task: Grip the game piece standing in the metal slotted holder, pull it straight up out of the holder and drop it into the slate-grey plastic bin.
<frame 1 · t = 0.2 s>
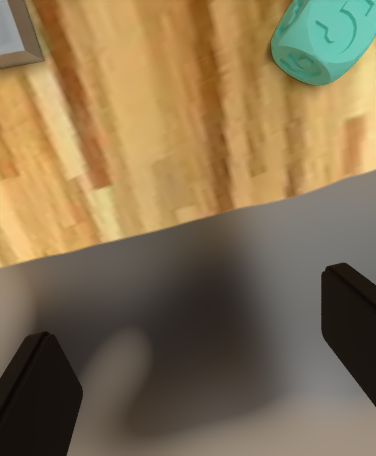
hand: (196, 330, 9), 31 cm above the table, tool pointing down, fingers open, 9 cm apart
decorative dice: (302, 42, 34), on the table
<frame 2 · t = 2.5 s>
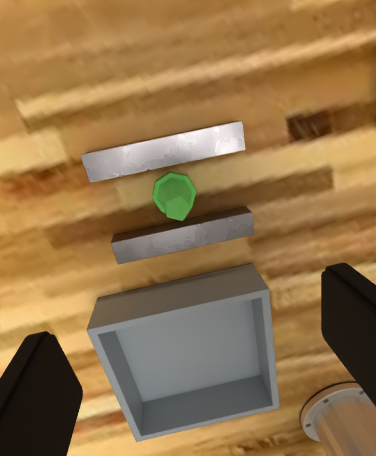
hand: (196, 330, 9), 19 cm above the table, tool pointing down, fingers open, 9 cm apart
slot holder: (174, 193, 26), on the table
bin: (190, 339, 33), on the table
game piece: (173, 192, 26), on the table
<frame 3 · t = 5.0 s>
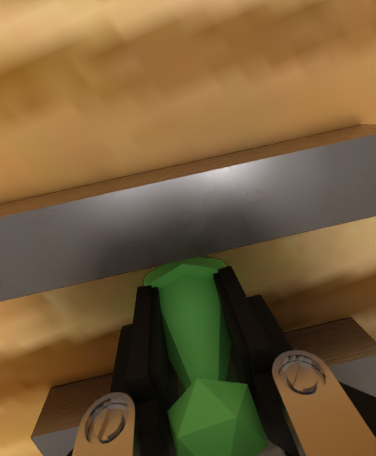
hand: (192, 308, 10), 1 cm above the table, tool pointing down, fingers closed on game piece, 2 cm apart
slot holder: (190, 299, 11), on the table
game piece: (189, 296, 11), on the table, touching gripper
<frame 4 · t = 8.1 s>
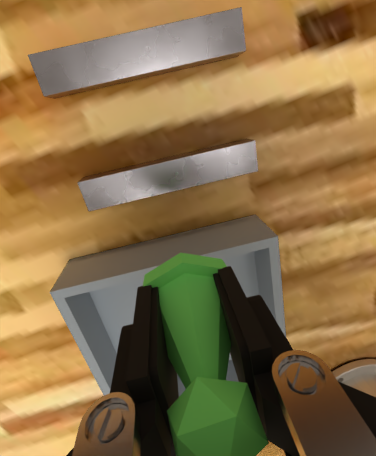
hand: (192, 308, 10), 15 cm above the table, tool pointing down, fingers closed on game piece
slot holder: (156, 119, 21), on the table
bin: (183, 310, 28), on the table
game piece: (189, 295, 11), point 14 cm above the table, touching gripper
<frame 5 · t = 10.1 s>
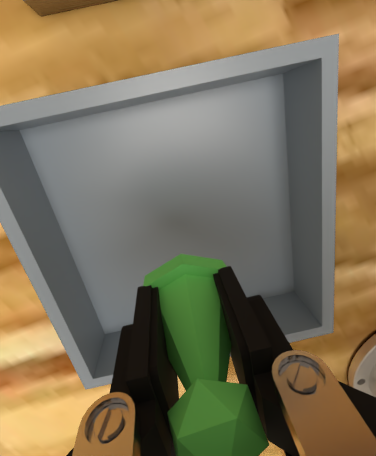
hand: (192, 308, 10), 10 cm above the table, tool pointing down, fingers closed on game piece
bin: (179, 220, 20), on the table
game piece: (189, 296, 11), point 10 cm above the table, touching gripper
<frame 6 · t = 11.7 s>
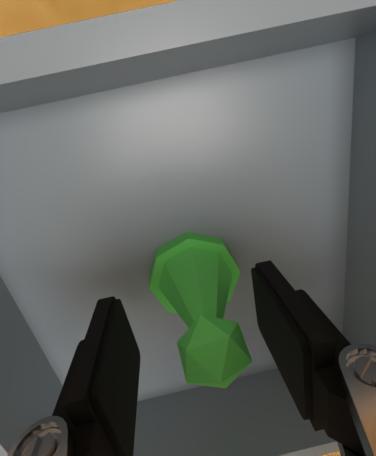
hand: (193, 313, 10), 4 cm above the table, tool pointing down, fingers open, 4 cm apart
bin: (183, 262, 14), on the table
game piece: (192, 269, 13), point 1 cm above the table, touching bin
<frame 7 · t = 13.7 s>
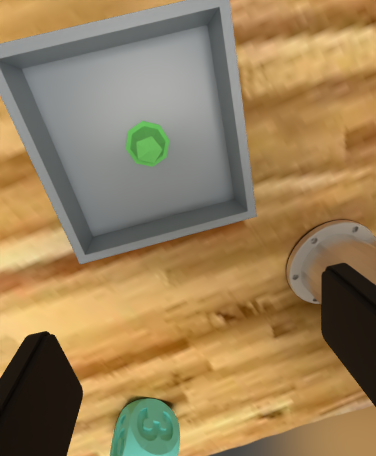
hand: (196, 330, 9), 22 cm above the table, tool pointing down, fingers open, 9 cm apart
bin: (143, 142, 27), on the table
decorative dice: (145, 412, 44), on the table
game piece: (147, 143, 26), point 1 cm above the table, touching bin
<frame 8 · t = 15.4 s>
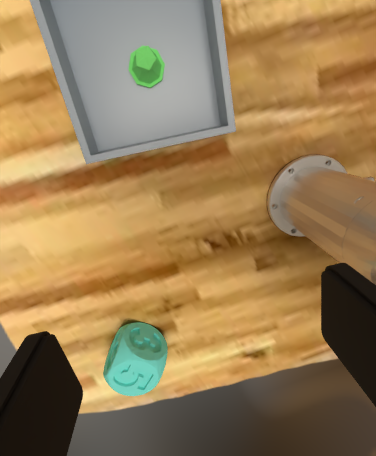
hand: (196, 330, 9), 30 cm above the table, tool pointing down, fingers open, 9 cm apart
bin: (143, 68, 32), on the table
decorative dice: (137, 338, 48), on the table
game piece: (147, 68, 32), point 1 cm above the table, touching bin
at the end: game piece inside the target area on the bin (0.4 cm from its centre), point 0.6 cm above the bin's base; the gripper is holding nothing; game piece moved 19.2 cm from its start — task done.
